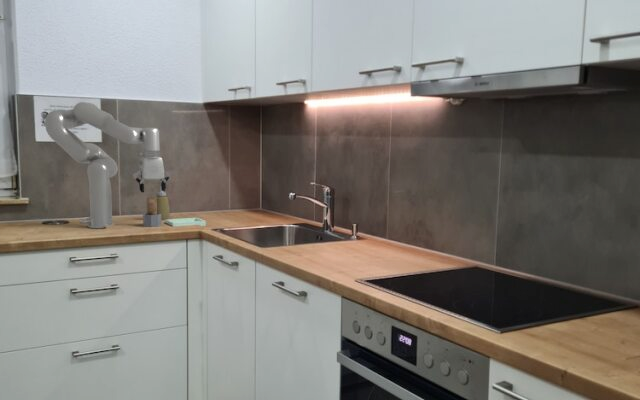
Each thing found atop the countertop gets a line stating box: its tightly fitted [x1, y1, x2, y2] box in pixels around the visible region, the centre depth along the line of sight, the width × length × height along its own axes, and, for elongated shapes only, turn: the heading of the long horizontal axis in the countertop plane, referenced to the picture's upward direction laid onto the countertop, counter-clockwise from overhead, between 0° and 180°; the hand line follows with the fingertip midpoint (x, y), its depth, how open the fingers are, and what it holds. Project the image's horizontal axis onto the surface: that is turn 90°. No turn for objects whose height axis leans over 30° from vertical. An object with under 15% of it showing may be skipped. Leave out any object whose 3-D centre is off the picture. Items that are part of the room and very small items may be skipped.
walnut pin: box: [146, 196, 157, 215], centre depth 271 cm, size 4×4×13 cm
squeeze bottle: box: [154, 185, 171, 221], centre depth 291 cm, size 8×8×18 cm
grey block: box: [142, 212, 162, 228], centre depth 271 cm, size 8×8×6 cm
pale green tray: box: [164, 217, 207, 227], centre depth 280 cm, size 16×12×2 cm
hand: (152, 191), depth 270 cm, fingers open, 9 cm apart
